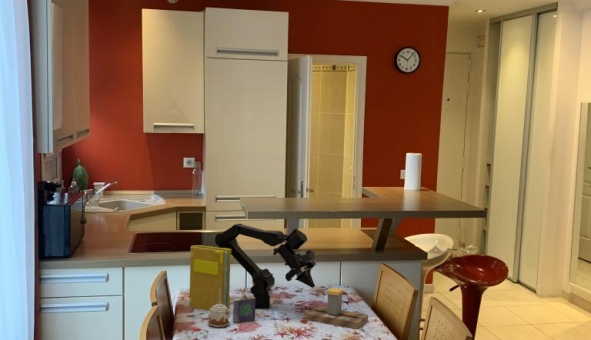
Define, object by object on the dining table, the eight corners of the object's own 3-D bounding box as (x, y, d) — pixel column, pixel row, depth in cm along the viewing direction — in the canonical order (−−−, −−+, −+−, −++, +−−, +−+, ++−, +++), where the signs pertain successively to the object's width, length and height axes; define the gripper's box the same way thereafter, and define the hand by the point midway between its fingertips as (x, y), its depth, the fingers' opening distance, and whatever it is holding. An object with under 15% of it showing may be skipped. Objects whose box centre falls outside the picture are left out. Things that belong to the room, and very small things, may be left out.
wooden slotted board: (304, 319, 228) (305, 312, 228) (316, 311, 239) (317, 305, 239) (357, 329, 219) (357, 322, 219) (367, 320, 230) (368, 314, 229)
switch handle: (326, 318, 228) (327, 290, 227) (331, 314, 233) (332, 287, 232) (337, 320, 226) (338, 292, 225) (342, 316, 231) (343, 289, 230)
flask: (234, 323, 220) (235, 296, 220) (231, 321, 223) (232, 294, 222) (256, 320, 225) (257, 293, 224) (252, 318, 227) (253, 291, 227)
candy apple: (230, 327, 216) (232, 287, 215) (210, 328, 213) (211, 288, 213) (227, 321, 223) (228, 282, 222) (207, 322, 221) (208, 283, 220)
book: (229, 309, 239) (231, 249, 237) (220, 313, 232) (222, 251, 231) (195, 303, 246) (196, 244, 244) (185, 306, 240) (187, 247, 238)
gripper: (293, 247, 226) (318, 279, 221) (312, 241, 242) (336, 270, 238) (274, 265, 229) (299, 296, 225) (295, 257, 246) (318, 286, 242)
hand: (314, 287), depth 233 cm, fingers closed
